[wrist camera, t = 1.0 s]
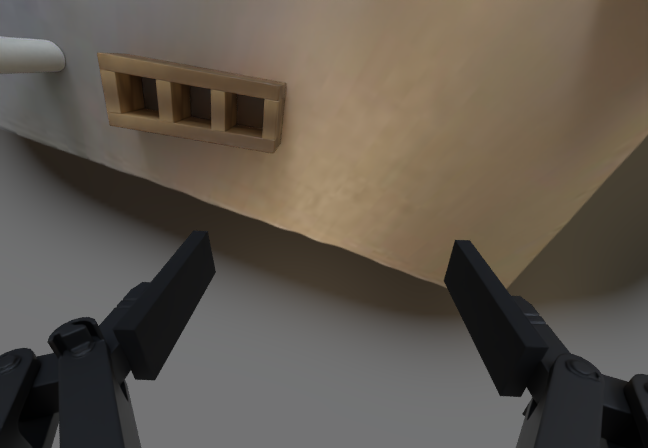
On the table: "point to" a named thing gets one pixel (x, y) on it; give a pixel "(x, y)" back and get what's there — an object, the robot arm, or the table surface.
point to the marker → (29, 56)
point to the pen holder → (175, 105)
